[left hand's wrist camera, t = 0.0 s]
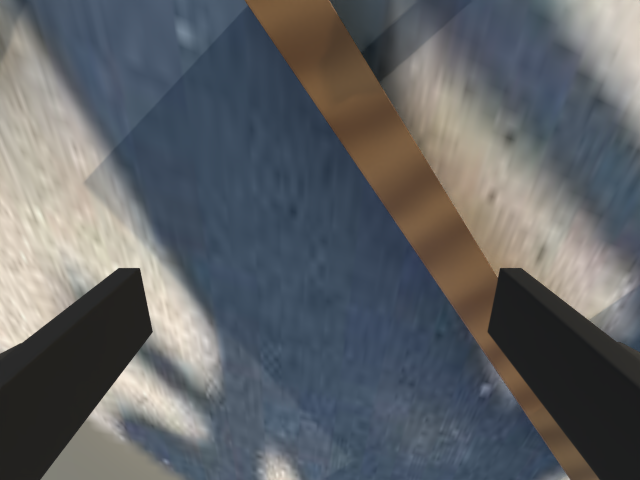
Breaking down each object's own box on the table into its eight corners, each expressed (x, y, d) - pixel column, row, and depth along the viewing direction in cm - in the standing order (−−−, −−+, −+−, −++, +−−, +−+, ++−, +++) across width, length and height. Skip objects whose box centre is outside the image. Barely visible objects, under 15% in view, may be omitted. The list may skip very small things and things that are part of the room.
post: (247, 5, 33) (229, -23, 27) (291, -35, 32) (284, -74, 25) (554, 455, 55) (587, 504, 48) (587, 441, 53) (625, 488, 47)
